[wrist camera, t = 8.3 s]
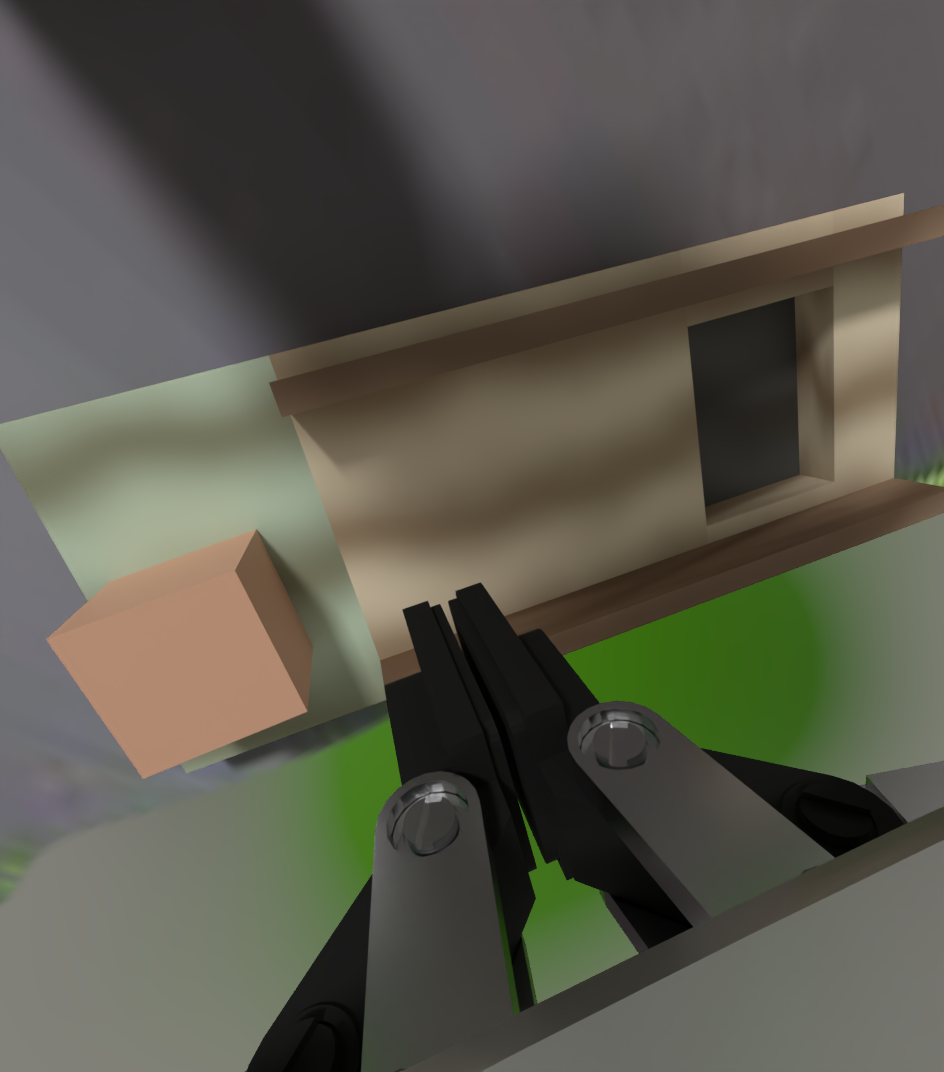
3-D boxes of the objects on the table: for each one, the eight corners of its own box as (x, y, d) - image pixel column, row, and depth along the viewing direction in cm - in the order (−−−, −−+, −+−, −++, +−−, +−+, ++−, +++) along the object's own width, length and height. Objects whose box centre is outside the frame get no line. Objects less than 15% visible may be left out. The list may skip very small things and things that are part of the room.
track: (26, 421, 21) (-74, 436, 16) (855, 208, 27) (976, 169, 22) (199, 738, 26) (166, 825, 21) (852, 504, 32) (948, 528, 27)
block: (110, 581, 21) (46, 639, 16) (256, 529, 22) (234, 570, 17) (182, 697, 23) (143, 778, 18) (313, 646, 24) (307, 711, 19)
